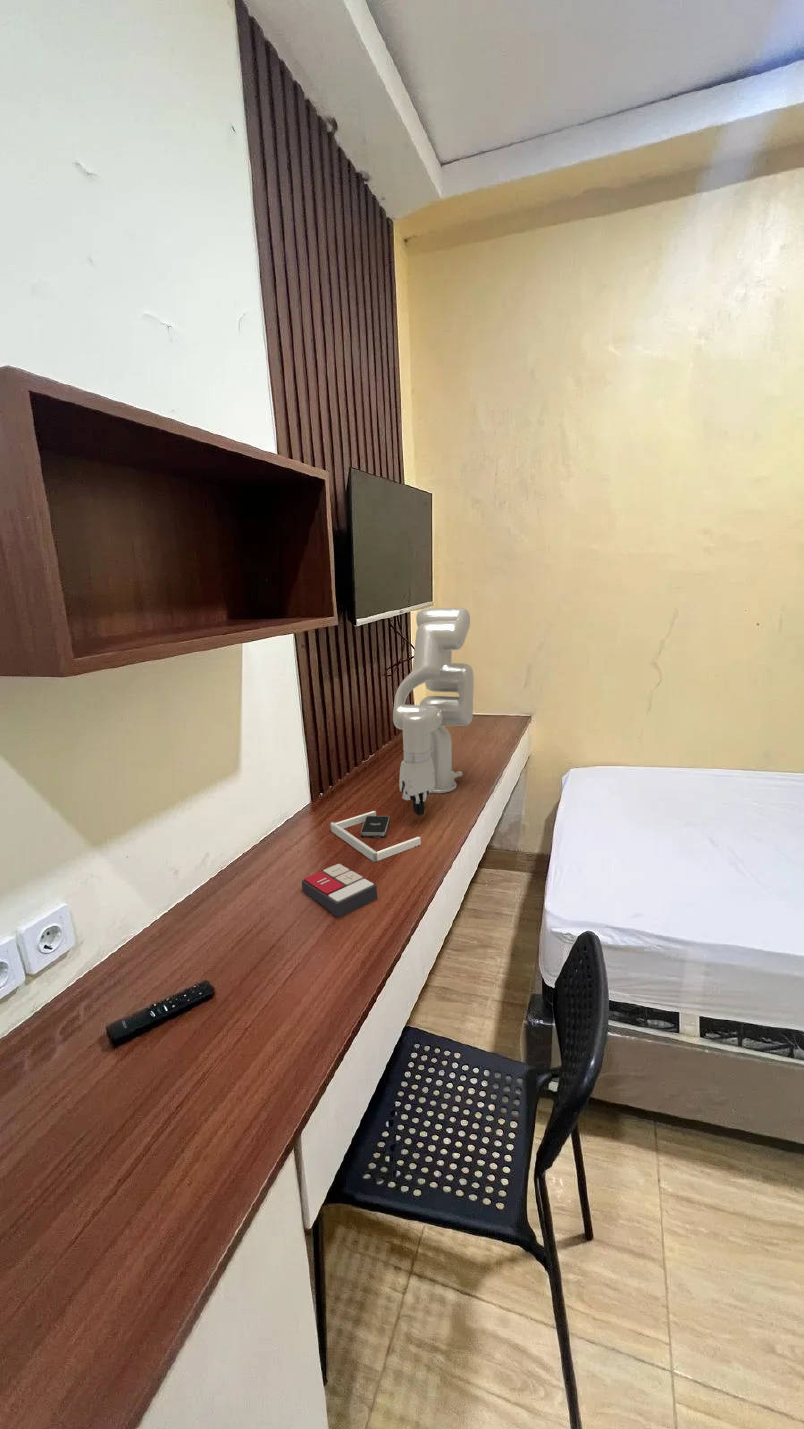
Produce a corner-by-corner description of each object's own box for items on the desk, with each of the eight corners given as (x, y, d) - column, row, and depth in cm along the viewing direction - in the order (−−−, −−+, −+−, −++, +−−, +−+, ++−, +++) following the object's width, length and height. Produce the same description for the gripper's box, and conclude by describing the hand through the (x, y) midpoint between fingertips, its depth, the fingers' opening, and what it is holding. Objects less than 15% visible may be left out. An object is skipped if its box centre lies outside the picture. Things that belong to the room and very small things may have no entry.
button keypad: (339, 861, 139) (376, 881, 127) (340, 877, 139) (378, 899, 128) (300, 877, 132) (336, 901, 120) (302, 894, 133) (338, 919, 121)
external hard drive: (360, 838, 158) (360, 832, 157) (367, 821, 168) (366, 815, 168) (385, 839, 157) (385, 832, 157) (390, 822, 168) (389, 815, 167)
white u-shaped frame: (374, 816, 171) (374, 809, 170) (420, 844, 152) (420, 836, 152) (330, 830, 162) (330, 822, 162) (374, 862, 144) (373, 853, 143)
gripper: (429, 745, 168) (430, 802, 173) (387, 757, 160) (391, 816, 165) (445, 752, 162) (446, 810, 167) (403, 765, 154) (406, 825, 159)
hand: (419, 813), depth 166 cm, fingers closed
